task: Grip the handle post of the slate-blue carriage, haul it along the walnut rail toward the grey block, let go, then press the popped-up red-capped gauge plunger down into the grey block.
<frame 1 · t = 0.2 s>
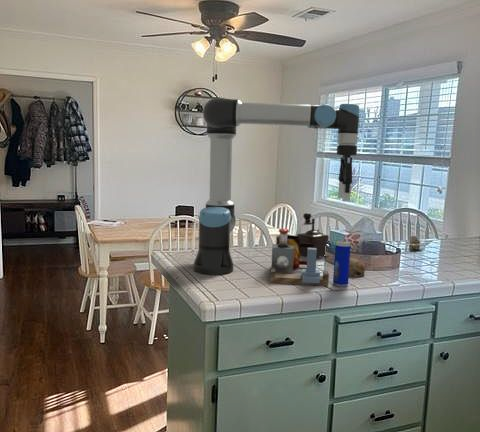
hand: (343, 199, 188), 28 cm above the counter, fingers open, 13 cm apart
bread roll: (349, 274, 185), on the counter
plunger: (283, 238, 181), point 13 cm above the counter, slide at 0.0 cm
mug: (291, 266, 193), on the counter
grey block: (281, 272, 183), on the counter
carriage: (311, 264, 168), point 7 cm above the counter, slide at 0.0 cm
manual coffee grinder: (308, 254, 219), on the counter
beverage can: (340, 285, 168), on the counter
rail: (298, 282, 170), on the counter
architectural model: (414, 251, 238), on the counter
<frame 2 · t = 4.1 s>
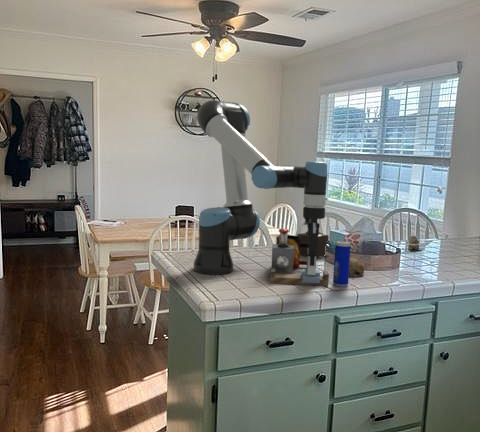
hand: (310, 272, 169), 4 cm above the counter, fingers closed on carriage, 4 cm apart
carriage: (311, 264, 168), point 7 cm above the counter, slide at 0.0 cm, touching gripper
everything else where it was.
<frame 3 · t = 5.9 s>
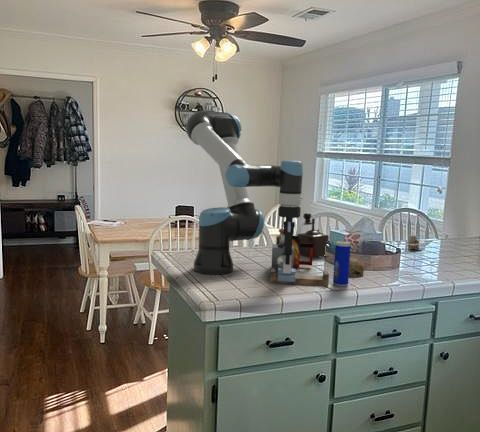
hand: (286, 271, 169), 4 cm above the counter, fingers closed on carriage, 4 cm apart
carriage: (287, 263, 169), point 7 cm above the counter, slide at 8.4 cm, touching gripper
everything else where it was.
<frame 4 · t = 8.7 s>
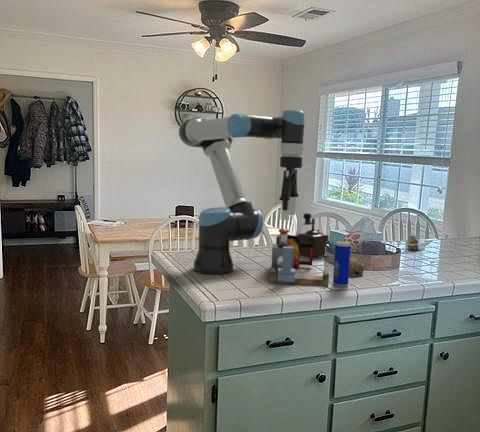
hand: (288, 217, 168), 23 cm above the counter, fingers open, 13 cm apart
carriage: (286, 263, 169), point 7 cm above the counter, slide at 8.5 cm
everything else where it was.
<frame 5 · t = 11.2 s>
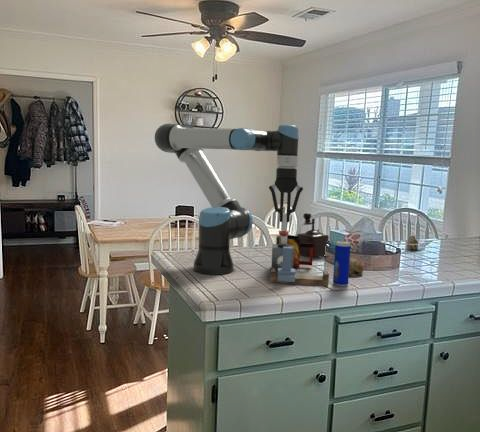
hand: (284, 230, 181), 16 cm above the counter, fingers closed
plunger: (283, 240, 181), point 12 cm above the counter, slide at 0.7 cm, touching gripper
everything else where it was.
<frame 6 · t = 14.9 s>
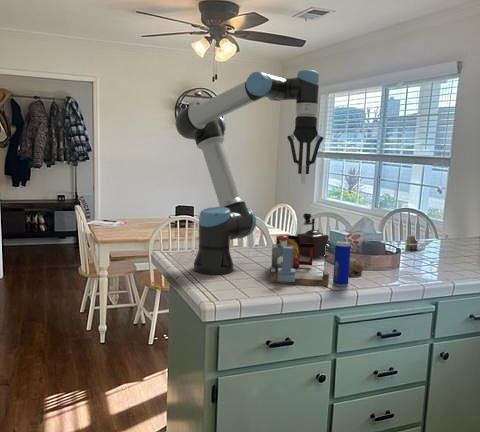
hand: (302, 183, 172), 34 cm above the counter, fingers closed
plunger: (283, 245, 182), point 10 cm above the counter, slide at 2.5 cm
at the end: carriage slide at 8.5 cm; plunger slide at 2.5 cm; the gripper is holding nothing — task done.
